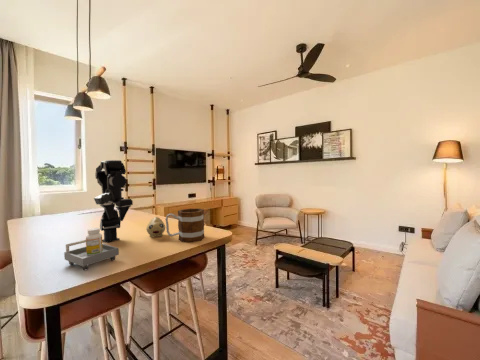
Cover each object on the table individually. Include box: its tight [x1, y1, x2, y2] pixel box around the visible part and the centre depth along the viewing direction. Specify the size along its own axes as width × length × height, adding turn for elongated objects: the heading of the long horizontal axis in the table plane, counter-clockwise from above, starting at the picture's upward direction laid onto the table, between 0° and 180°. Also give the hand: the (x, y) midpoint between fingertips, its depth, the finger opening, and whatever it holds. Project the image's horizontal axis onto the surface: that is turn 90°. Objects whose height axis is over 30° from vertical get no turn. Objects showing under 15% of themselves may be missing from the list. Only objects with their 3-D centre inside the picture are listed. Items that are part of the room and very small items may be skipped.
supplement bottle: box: [85, 227, 103, 256], centre depth 89 cm, size 5×5×10 cm
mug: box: [165, 208, 206, 243], centre depth 119 cm, size 20×14×15 cm
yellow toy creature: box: [145, 216, 166, 238], centre depth 124 cm, size 10×12×11 cm
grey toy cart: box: [63, 239, 120, 271], centre depth 89 cm, size 14×13×8 cm
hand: (115, 220), depth 107 cm, fingers open, 9 cm apart
